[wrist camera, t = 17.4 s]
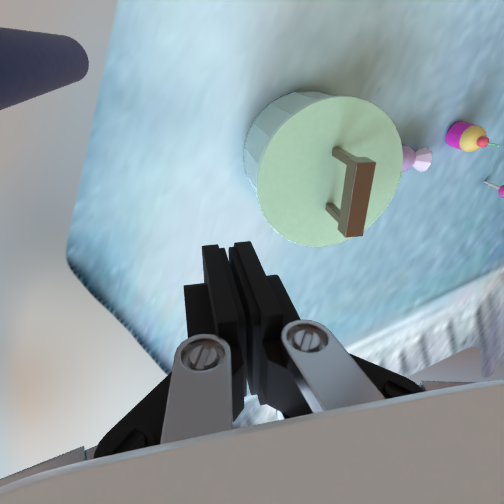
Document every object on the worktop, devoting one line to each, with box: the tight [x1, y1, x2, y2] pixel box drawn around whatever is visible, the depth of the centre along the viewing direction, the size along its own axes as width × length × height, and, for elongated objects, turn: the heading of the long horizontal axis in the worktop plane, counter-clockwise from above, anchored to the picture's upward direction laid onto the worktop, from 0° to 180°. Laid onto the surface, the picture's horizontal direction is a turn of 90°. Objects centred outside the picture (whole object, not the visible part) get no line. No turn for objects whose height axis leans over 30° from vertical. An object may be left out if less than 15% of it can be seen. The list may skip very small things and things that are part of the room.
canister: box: [243, 91, 330, 195], centre depth 35 cm, size 13×13×8 cm
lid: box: [256, 96, 403, 247], centre depth 29 cm, size 14×14×6 cm
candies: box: [402, 122, 504, 198], centre depth 40 cm, size 18×8×6 cm, turn 84°
